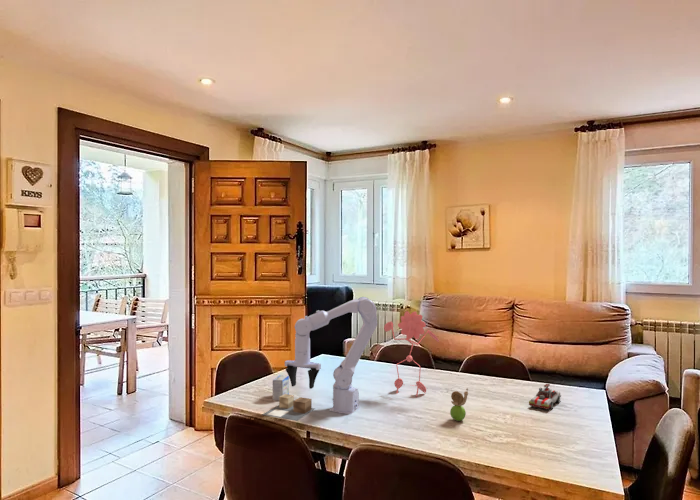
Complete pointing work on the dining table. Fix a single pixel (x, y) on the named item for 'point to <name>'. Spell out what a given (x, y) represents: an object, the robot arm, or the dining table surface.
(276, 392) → the medicine box
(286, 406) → the beech brick
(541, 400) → the toy car
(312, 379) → the robot arm
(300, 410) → the walnut brick
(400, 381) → the figurine
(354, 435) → the dining table surface
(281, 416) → the mat
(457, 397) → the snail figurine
